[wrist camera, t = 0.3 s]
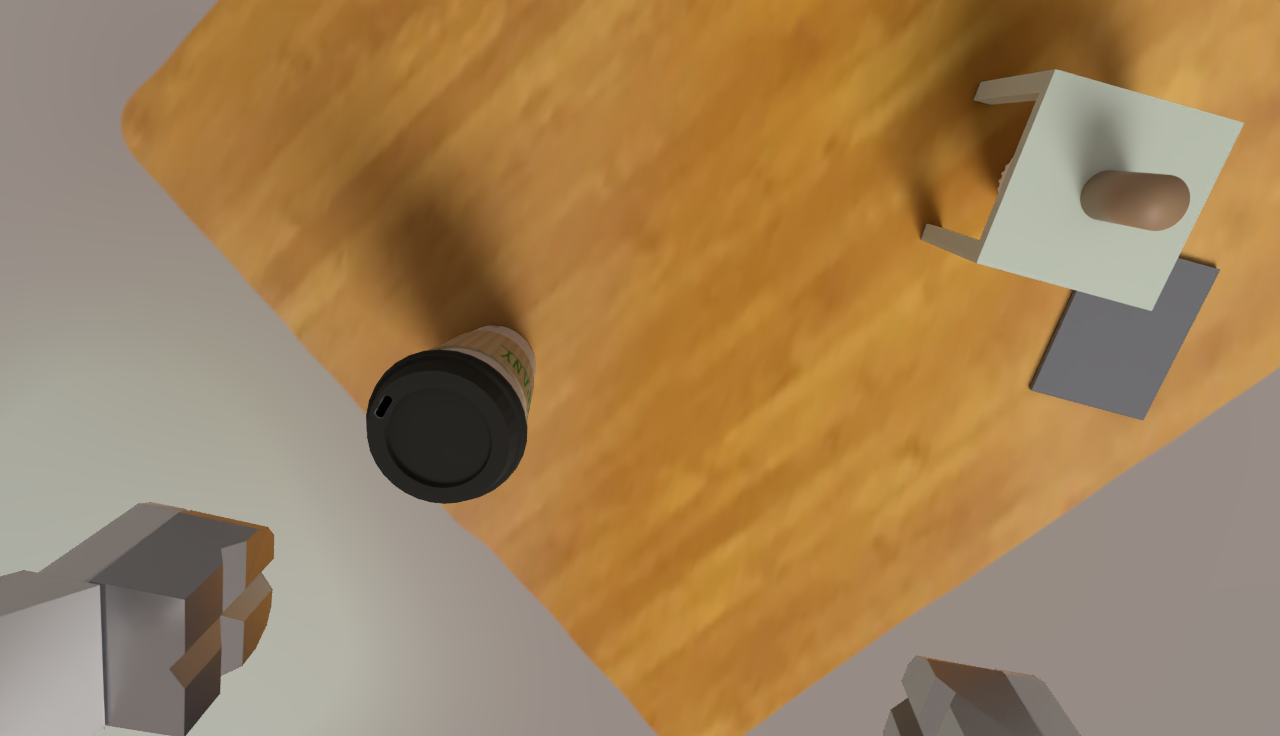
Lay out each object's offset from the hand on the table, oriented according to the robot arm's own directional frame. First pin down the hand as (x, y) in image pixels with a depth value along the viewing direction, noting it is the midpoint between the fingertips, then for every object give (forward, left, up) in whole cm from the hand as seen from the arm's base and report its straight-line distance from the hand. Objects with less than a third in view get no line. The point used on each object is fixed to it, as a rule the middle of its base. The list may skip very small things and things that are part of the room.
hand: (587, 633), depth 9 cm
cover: (-9, +24, -47) cm, 53 cm away
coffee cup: (+14, -9, -47) cm, 50 cm away
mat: (-1, +35, -47) cm, 58 cm away
